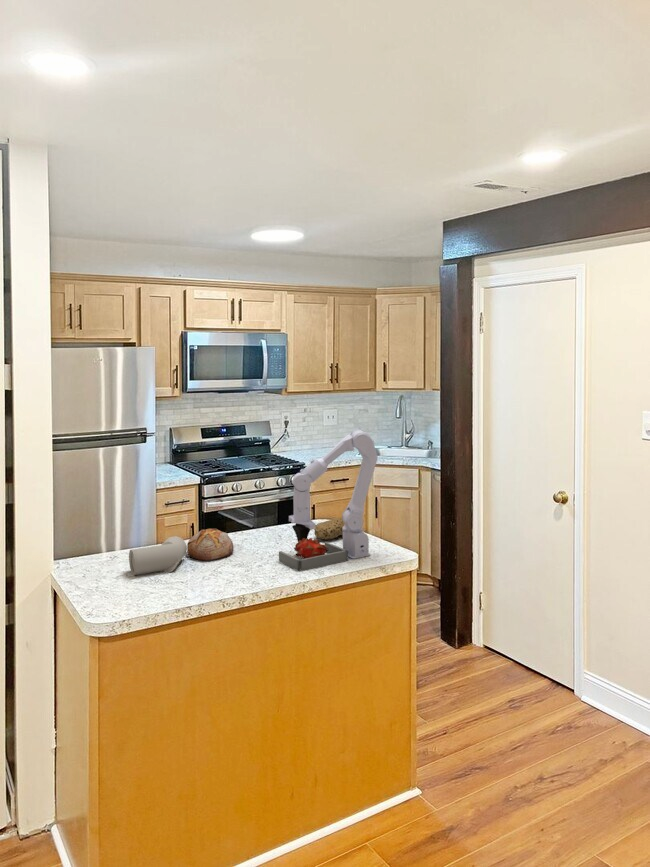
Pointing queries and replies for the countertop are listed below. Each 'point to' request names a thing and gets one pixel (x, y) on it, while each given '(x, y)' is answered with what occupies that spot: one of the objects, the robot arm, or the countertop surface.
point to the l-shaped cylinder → (157, 556)
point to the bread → (210, 545)
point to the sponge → (329, 529)
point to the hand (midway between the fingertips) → (302, 545)
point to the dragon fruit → (309, 548)
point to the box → (315, 558)
